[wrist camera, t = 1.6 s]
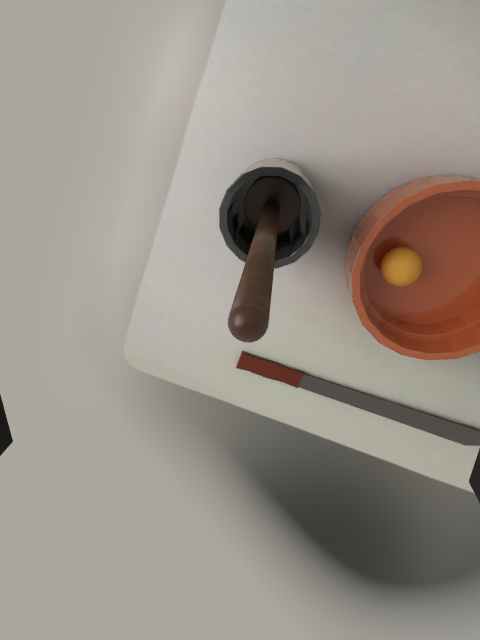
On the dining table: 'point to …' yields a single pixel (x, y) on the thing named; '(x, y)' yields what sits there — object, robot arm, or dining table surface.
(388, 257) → the ball
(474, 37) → the dining table surface
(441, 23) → the dining table surface
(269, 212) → the wooden plunger
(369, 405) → the knife
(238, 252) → the crock
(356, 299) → the orange plant saucer
